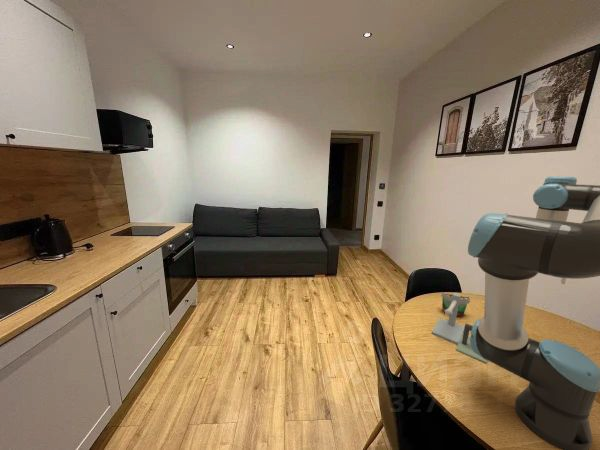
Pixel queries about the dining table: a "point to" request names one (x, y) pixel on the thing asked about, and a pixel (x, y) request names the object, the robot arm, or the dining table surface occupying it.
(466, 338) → the link
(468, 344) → the mat
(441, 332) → the stand
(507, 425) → the dining table surface
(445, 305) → the food container
